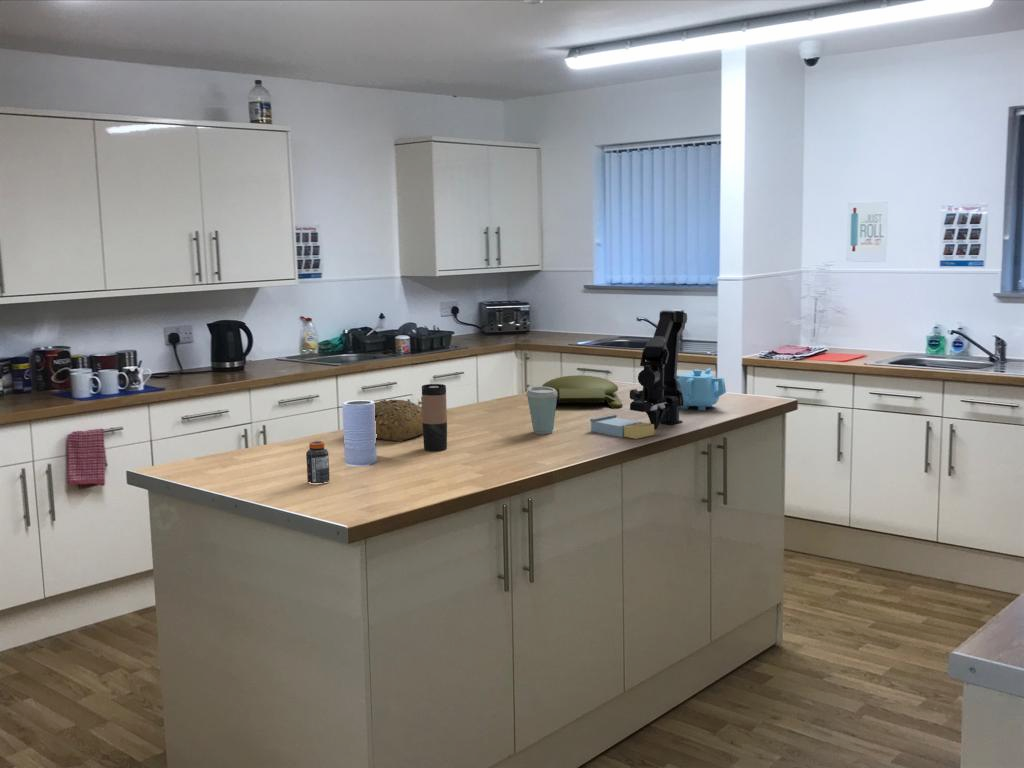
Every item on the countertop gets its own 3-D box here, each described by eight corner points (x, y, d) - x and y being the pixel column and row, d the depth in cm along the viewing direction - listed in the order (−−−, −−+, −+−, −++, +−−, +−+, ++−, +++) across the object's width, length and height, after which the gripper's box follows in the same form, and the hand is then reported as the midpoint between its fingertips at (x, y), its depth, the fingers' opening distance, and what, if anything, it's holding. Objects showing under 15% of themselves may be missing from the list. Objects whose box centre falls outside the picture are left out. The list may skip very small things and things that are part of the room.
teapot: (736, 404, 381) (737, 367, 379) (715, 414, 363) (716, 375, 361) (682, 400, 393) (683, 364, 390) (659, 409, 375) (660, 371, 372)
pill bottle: (308, 480, 275) (307, 440, 274) (330, 479, 276) (329, 439, 274) (306, 485, 269) (304, 444, 268) (328, 485, 270) (326, 444, 268)
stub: (642, 432, 331) (642, 421, 331) (654, 434, 328) (654, 423, 327) (624, 436, 325) (624, 425, 325) (635, 438, 322) (635, 427, 321)
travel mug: (451, 447, 314) (450, 384, 311) (441, 452, 307) (440, 388, 304) (429, 445, 317) (427, 383, 314) (419, 450, 310) (417, 387, 307)
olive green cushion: (623, 409, 377) (623, 383, 375) (541, 410, 377) (541, 384, 375) (614, 394, 411) (614, 370, 410) (539, 395, 411) (539, 371, 410)
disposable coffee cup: (564, 431, 335) (564, 387, 333) (543, 437, 327) (543, 392, 325) (541, 427, 342) (540, 384, 340) (519, 432, 335) (519, 388, 332)
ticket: (612, 426, 343) (612, 414, 342) (643, 432, 332) (643, 419, 332) (589, 431, 336) (589, 418, 335) (620, 437, 325) (620, 424, 324)
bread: (439, 431, 339) (438, 397, 337) (406, 444, 320) (405, 407, 318) (377, 426, 349) (376, 392, 347) (343, 438, 330) (341, 402, 328)
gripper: (654, 377, 341) (654, 422, 343) (617, 383, 329) (617, 429, 331) (680, 380, 333) (679, 426, 335) (643, 386, 320) (642, 434, 323)
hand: (654, 429), depth 331 cm, fingers closed
